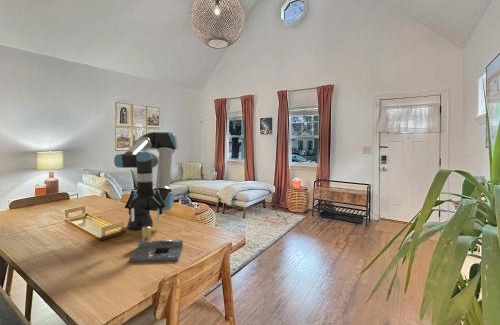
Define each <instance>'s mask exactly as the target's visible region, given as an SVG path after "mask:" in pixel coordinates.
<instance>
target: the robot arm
mask: <svg viewBox="0 0 500 325" xmlns="http://www.w3.org/2000/svg"><path fill="white" fill-rule="evenodd" d="M149 150H156V151H157V152H158V155H156V154H154V153H153V152H151V151H149ZM176 150H178V138H177V134H176V133H175V132H170V131H169V132H167V131H166V132H165V131H164V132H162V131H151V132H148V133H145V134H143V135H141V136H140V137H138V138H137V140H136V142H135V143H134V144H133V145H132V146H131V147H130V148H129V149H128V150H127V151H126V152H124V153H117V154H116V155H115V156H114V160H113V162H114V166H115V167H116V168H122V169H128V168H131V169H134V168H135V169H136V181H137V183H136V185H137V187H136V188H137V190H135V189H132V190H131V191H130V194H129V198H128V200H127V201H126V204H125V205H124V209H128V215H129V218H128V222H127V229H128V230H132V231H142V227H143V226H151V228H152V227H153V226H154V221H153V219H152V215H151V211H157V222H160V221H162V220H161V218H162V216H161V215H162V214H163V212H164V211H170V210H171V209H172V208H173V205H174V201H175V193H174V192H173V190H172V188H171V187H170V186H171V176H172V175H171V173H172V171H171V170H172V159H173V154H174V153H175V151H176ZM156 166H157V171H156V172H157V174H156V183H155V187H154V184H153V178H154V177H153V174H154V173H153V168H155V167H156Z"/></svg>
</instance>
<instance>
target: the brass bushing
mask: <svg viewBox="0 0 500 325" xmlns="http://www.w3.org/2000/svg"><path fill="white" fill-rule="evenodd" d="M141 237H142V238H141V241H152V227H151V226H143V227H142V230H141Z"/></svg>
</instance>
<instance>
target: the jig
mask: <svg viewBox="0 0 500 325" xmlns="http://www.w3.org/2000/svg"><path fill="white" fill-rule="evenodd" d="M183 249H184V241H183V239H172V240H171V239H170V240H167V239H166V240H151V241H142V240H139V241H138V246H137V248H136V250H134V252H133V253H132V254H131V256H129V258H128V259H129V260H128V262H129V263H157V262H158V263H159V262H160V263H162V262H178V261H179V260H180V258H181V255H182V252H183Z"/></svg>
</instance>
